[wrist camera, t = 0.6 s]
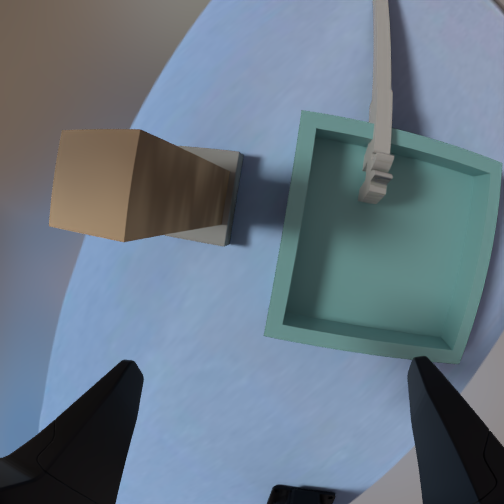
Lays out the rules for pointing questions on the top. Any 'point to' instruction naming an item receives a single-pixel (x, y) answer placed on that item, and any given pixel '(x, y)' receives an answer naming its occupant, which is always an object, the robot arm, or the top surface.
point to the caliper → (379, 111)
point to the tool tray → (383, 244)
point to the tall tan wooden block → (143, 187)
